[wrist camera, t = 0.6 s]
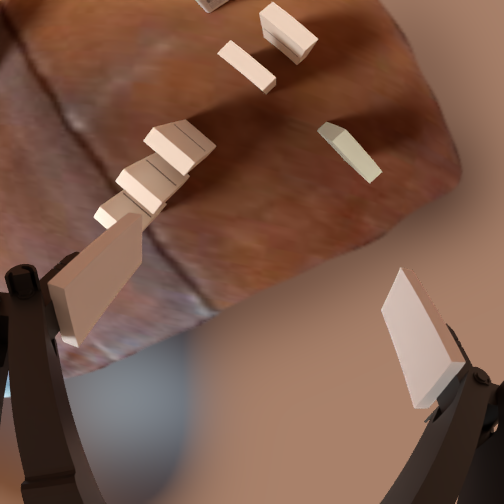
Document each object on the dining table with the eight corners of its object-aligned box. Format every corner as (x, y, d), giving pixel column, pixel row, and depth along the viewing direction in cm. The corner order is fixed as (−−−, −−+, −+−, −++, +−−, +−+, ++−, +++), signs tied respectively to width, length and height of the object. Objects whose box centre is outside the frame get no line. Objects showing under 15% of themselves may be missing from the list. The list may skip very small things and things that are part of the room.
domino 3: (132, 188, 37) (93, 217, 28) (138, 179, 37) (100, 206, 28) (160, 212, 39) (128, 247, 30) (167, 204, 38) (135, 237, 29)
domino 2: (153, 160, 35) (115, 181, 27) (160, 150, 35) (123, 168, 26) (182, 185, 37) (153, 214, 28) (190, 175, 36) (162, 202, 27)
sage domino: (316, 130, 32) (331, 141, 24) (326, 121, 32) (345, 129, 23) (345, 161, 34) (369, 183, 25) (355, 152, 33) (382, 171, 24)
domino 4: (233, 66, 29) (216, 53, 21) (243, 56, 29) (230, 39, 20) (266, 94, 31) (262, 91, 22) (276, 84, 30) (276, 77, 21)
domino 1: (177, 129, 33) (143, 141, 25) (185, 119, 33) (153, 127, 24) (207, 155, 35) (183, 176, 26) (216, 145, 34) (195, 162, 25)
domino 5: (263, 37, 28) (258, 13, 19) (273, 28, 27) (272, 1, 18) (296, 65, 29) (304, 50, 20) (306, 56, 28) (318, 38, 19)
